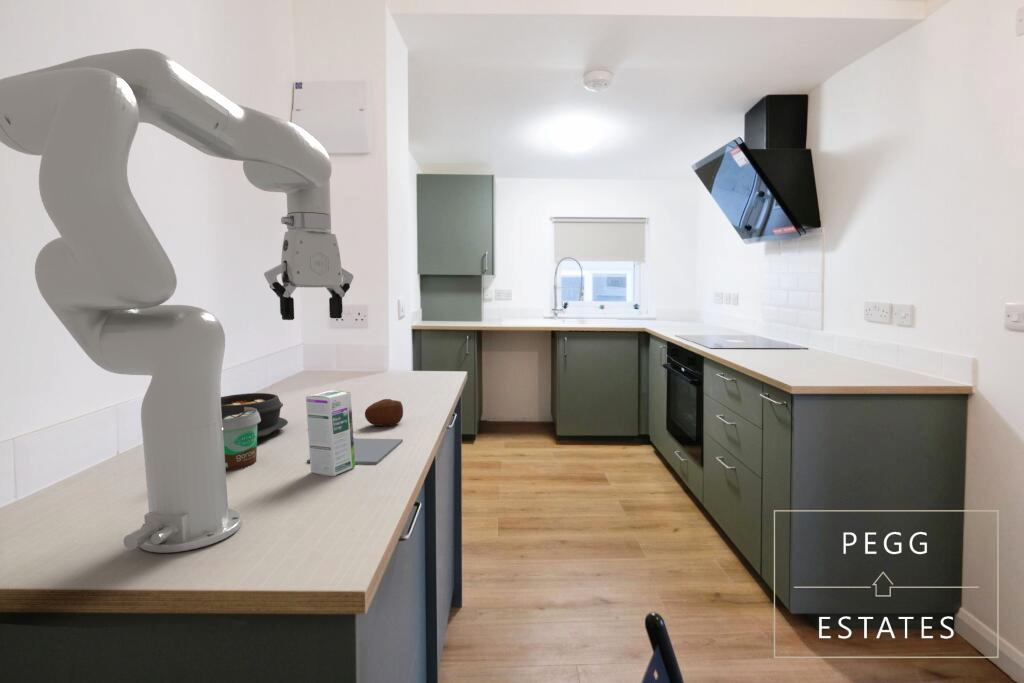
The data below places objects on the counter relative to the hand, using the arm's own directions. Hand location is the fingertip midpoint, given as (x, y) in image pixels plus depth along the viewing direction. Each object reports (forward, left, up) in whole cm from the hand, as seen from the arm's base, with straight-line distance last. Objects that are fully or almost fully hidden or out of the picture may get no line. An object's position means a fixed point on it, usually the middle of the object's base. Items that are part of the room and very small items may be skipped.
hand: (312, 319), depth 108 cm
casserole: (+21, +28, -28) cm, 45 cm away
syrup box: (-3, -4, -28) cm, 28 cm away
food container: (-1, +15, -28) cm, 32 cm away
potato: (+31, -2, -28) cm, 42 cm away
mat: (+9, -4, -28) cm, 30 cm away
